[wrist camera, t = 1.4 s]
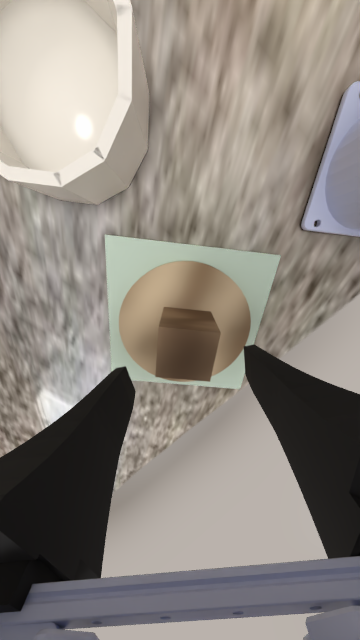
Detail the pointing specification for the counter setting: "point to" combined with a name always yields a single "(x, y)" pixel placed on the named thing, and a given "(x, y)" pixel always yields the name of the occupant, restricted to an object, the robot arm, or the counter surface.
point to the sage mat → (144, 255)
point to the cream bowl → (71, 97)
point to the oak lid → (184, 321)
